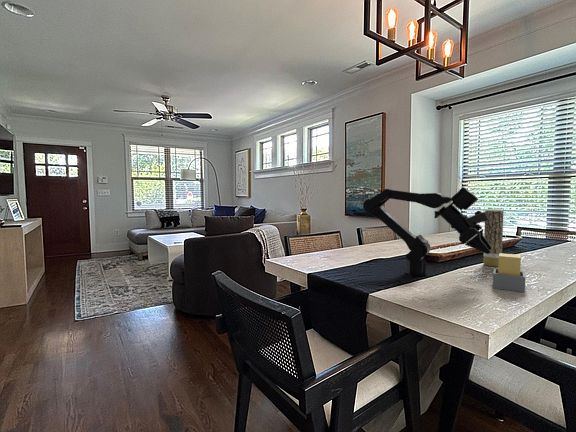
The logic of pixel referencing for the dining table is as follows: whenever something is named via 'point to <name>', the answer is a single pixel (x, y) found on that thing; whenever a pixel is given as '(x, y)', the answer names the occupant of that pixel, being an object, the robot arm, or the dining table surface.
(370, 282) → the dining table surface
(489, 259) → the bark textured cylinder
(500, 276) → the sleeve
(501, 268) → the ochre block
